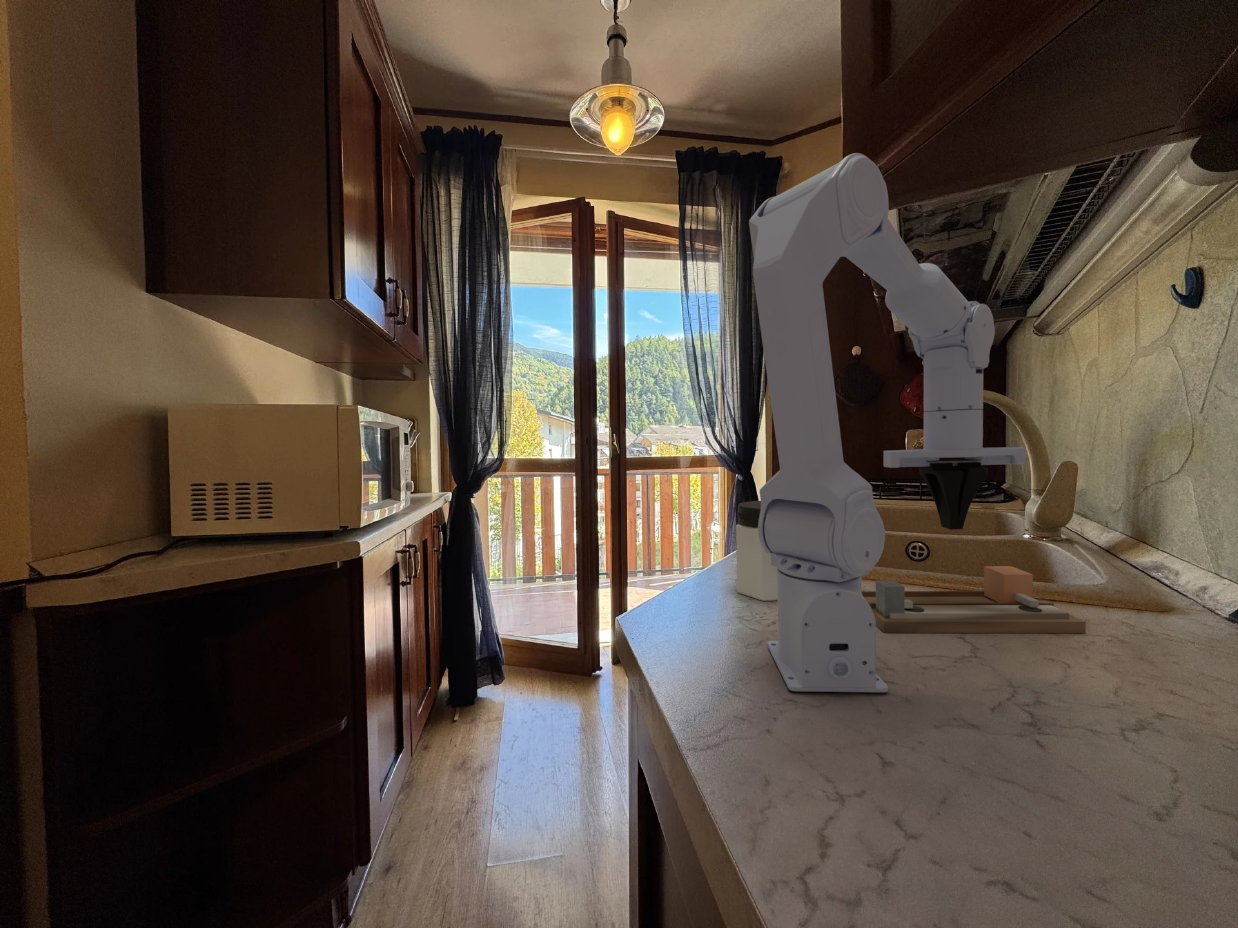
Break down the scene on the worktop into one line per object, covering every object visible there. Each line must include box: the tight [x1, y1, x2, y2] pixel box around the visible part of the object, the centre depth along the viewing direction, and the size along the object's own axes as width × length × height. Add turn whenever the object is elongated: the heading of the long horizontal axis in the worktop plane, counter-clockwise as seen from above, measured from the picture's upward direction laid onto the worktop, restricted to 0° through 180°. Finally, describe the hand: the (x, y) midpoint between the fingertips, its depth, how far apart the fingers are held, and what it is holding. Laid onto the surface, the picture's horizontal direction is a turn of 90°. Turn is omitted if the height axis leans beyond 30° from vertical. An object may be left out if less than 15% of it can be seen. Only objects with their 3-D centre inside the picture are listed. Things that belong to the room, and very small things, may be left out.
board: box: [861, 590, 1087, 634], centre depth 57 cm, size 9×20×2 cm, turn 85°
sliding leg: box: [983, 565, 1039, 607], centre depth 57 cm, size 6×3×4 cm, turn 175°
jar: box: [735, 500, 778, 602], centre depth 69 cm, size 9×8×12 cm
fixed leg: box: [875, 579, 913, 619], centre depth 56 cm, size 2×3×4 cm
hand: (951, 527), depth 59 cm, fingers closed
